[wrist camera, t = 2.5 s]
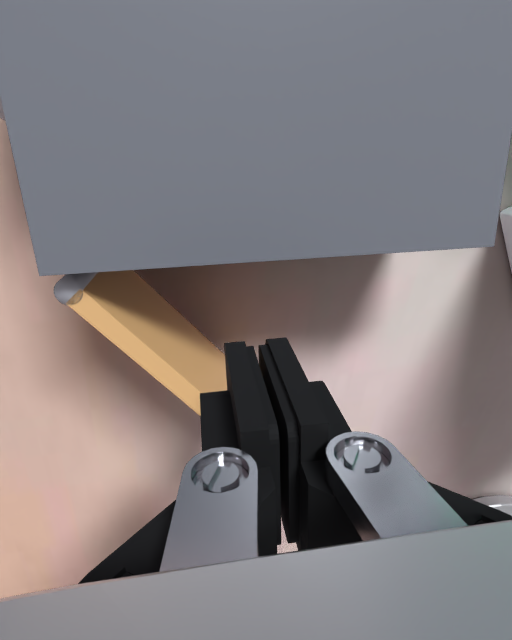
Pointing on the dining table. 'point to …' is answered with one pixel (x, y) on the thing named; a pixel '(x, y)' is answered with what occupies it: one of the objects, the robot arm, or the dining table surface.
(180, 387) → the tan cabinet door
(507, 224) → the milk carton
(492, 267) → the dining table surface
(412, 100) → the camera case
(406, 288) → the dining table surface
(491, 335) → the dining table surface
